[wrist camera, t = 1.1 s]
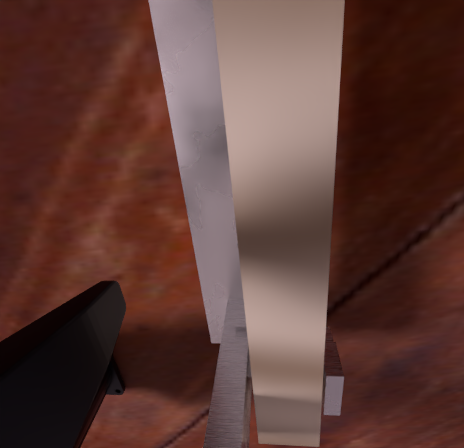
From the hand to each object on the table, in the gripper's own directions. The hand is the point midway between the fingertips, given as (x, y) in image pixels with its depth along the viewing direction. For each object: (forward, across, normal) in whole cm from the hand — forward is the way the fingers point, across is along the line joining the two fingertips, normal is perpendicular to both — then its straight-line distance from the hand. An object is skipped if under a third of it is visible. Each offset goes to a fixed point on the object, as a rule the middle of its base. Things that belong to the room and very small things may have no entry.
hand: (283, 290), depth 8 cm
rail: (+5, 0, 0) cm, 5 cm away
